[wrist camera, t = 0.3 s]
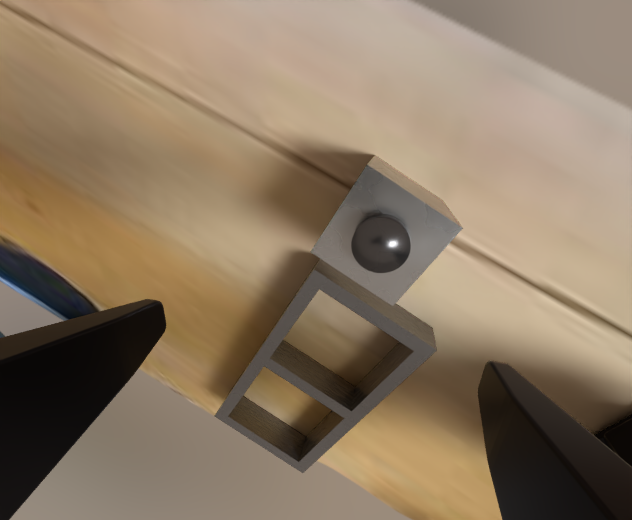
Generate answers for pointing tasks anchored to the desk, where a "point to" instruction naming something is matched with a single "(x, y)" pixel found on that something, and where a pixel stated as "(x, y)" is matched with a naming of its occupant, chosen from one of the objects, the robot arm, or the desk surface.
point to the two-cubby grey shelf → (326, 371)
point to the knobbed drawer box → (386, 231)
